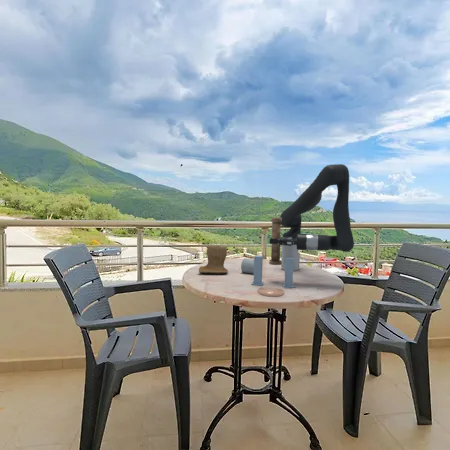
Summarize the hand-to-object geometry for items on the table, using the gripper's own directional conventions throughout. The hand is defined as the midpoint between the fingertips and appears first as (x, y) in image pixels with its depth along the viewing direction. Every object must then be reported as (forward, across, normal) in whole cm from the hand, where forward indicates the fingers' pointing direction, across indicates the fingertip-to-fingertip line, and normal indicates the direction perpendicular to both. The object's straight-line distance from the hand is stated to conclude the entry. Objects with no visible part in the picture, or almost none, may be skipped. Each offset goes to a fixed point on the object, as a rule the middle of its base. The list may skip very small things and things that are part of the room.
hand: (270, 240), depth 154 cm
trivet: (-2, +19, +20) cm, 28 cm away
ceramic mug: (+11, -17, +20) cm, 28 cm away
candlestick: (-3, 0, +11) cm, 11 cm away
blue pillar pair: (-2, +6, +20) cm, 21 cm away
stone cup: (+30, -10, +20) cm, 37 cm away
